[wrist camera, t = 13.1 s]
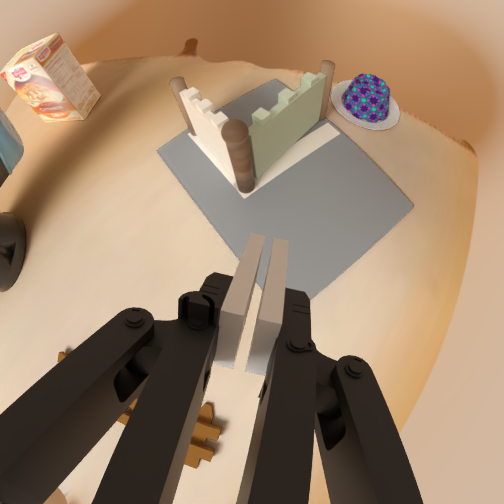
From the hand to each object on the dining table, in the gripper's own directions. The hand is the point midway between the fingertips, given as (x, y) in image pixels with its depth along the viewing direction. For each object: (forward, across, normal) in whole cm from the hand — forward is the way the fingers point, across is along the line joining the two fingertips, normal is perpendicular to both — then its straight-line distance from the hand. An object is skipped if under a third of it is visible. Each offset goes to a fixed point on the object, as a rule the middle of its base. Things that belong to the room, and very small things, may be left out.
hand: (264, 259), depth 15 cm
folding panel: (+27, 0, -5) cm, 27 cm away
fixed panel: (+26, +10, -1) cm, 28 cm away
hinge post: (+22, +4, +2) cm, 23 cm away
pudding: (+35, -11, -14) cm, 39 cm away
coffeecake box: (+34, +47, -7) cm, 58 cm away
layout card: (+24, 0, 0) cm, 24 cm away
